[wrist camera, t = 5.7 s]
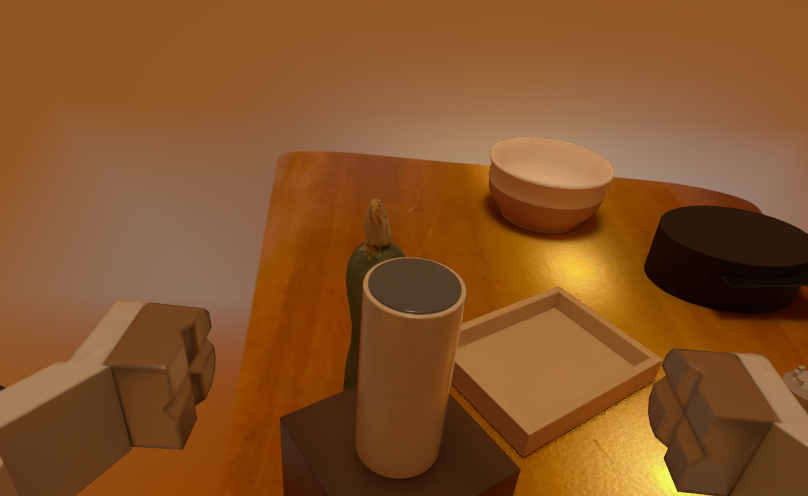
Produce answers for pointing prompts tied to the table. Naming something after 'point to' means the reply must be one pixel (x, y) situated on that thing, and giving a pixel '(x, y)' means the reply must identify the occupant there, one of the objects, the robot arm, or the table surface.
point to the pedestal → (369, 492)
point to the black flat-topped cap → (728, 259)
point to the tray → (547, 367)
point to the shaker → (406, 363)
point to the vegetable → (358, 266)
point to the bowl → (547, 183)
